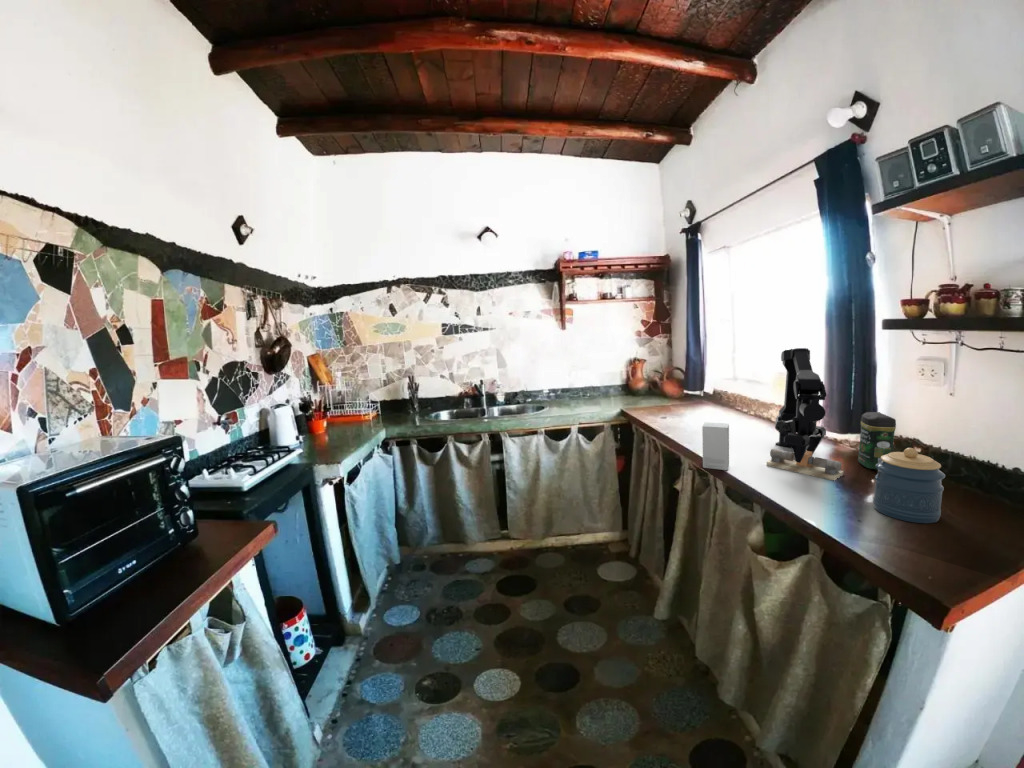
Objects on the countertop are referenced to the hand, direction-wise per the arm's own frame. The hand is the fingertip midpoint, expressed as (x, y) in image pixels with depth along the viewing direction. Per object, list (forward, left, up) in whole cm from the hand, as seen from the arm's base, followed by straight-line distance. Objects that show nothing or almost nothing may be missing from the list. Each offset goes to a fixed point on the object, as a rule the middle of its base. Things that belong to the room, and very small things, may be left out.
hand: (803, 459), depth 141 cm
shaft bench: (0, 0, -4) cm, 4 cm away
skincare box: (+18, -21, -4) cm, 28 cm away
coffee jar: (-20, +14, -4) cm, 25 cm away
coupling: (0, 0, -2) cm, 2 cm away
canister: (+16, +29, -4) cm, 33 cm away
